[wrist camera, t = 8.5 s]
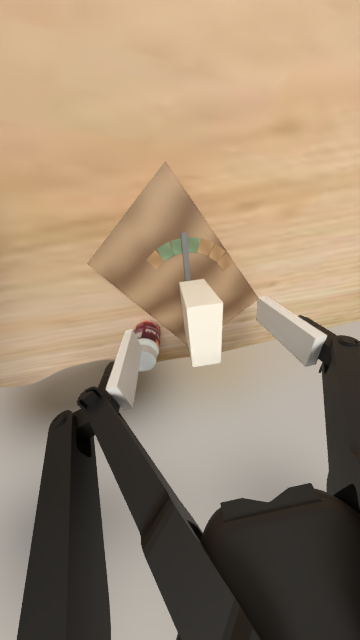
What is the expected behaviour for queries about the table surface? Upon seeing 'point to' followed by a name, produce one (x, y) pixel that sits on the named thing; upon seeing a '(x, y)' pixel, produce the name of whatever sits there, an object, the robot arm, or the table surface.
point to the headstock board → (168, 255)
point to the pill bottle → (148, 343)
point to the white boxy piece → (200, 316)
